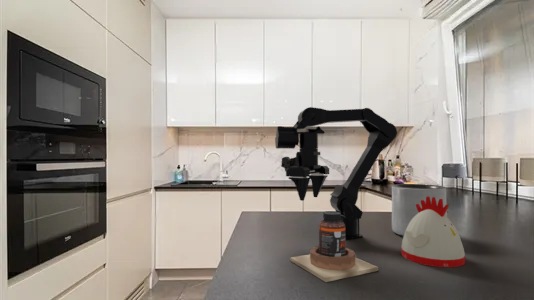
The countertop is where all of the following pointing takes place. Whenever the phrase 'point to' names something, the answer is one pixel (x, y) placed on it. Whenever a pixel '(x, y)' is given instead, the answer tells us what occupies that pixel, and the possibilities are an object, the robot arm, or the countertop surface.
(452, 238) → the kitchen timer
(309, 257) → the collar stand
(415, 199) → the planter
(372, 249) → the countertop surface
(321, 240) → the supplement bottle
